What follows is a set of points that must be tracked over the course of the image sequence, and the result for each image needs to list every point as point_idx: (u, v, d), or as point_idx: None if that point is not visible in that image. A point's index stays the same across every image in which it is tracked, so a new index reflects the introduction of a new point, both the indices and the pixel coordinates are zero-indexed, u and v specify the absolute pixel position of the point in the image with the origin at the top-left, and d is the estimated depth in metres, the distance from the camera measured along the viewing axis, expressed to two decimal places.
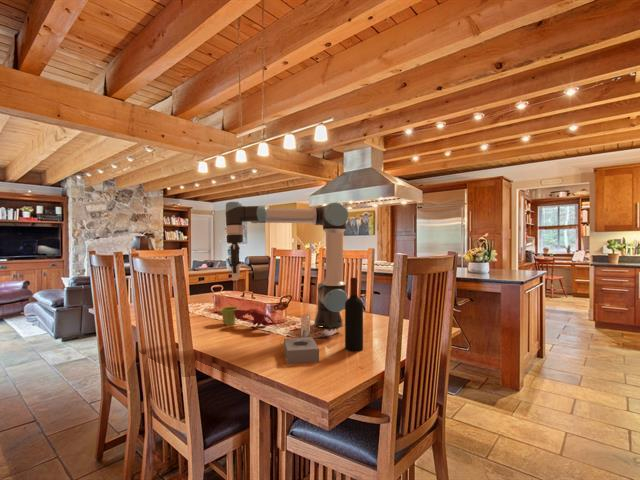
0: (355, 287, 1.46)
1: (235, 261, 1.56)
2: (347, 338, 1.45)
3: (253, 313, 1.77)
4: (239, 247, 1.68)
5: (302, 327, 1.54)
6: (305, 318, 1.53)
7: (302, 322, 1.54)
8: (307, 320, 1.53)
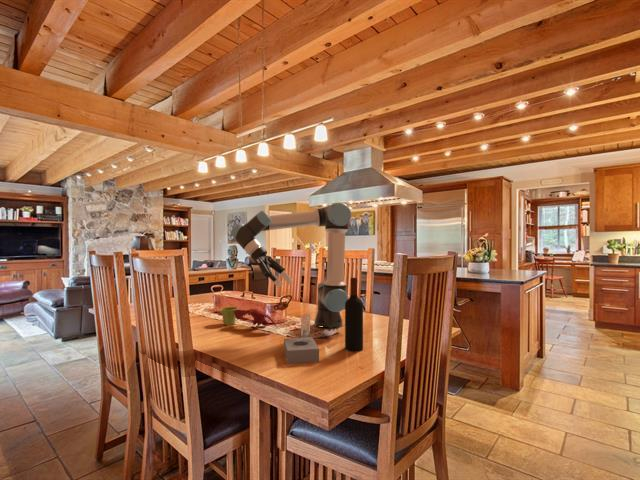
0: (355, 287, 1.46)
1: (266, 271, 1.53)
2: (347, 338, 1.45)
3: (253, 313, 1.77)
4: (269, 257, 1.65)
5: (302, 327, 1.54)
6: (305, 318, 1.53)
7: (302, 322, 1.54)
8: (307, 320, 1.53)
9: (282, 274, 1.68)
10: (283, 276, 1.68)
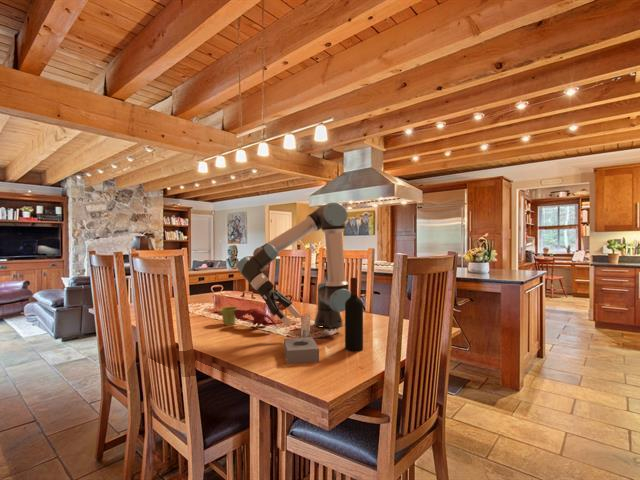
0: (355, 287, 1.46)
1: (273, 308, 1.48)
2: (347, 338, 1.45)
3: (253, 313, 1.77)
4: (276, 292, 1.60)
5: (302, 327, 1.54)
6: (305, 318, 1.53)
7: (302, 322, 1.54)
8: (307, 320, 1.53)
9: (289, 308, 1.63)
10: (290, 310, 1.63)
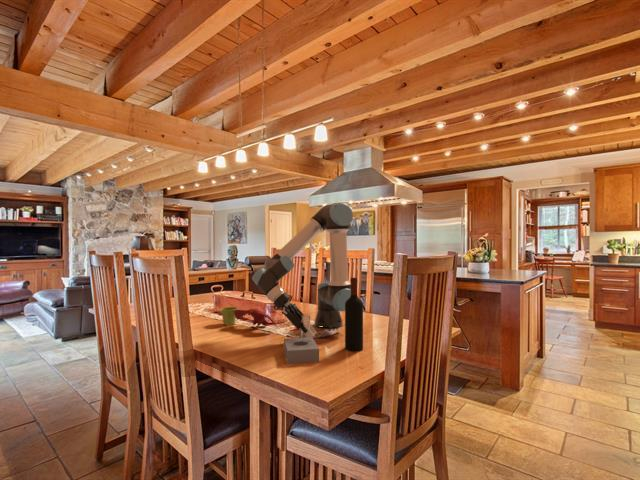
0: (355, 287, 1.46)
1: (297, 323, 1.50)
2: (347, 338, 1.45)
3: (253, 313, 1.77)
4: (292, 304, 1.59)
5: None
6: (305, 318, 1.53)
7: (302, 322, 1.54)
8: (307, 320, 1.53)
9: None
10: None
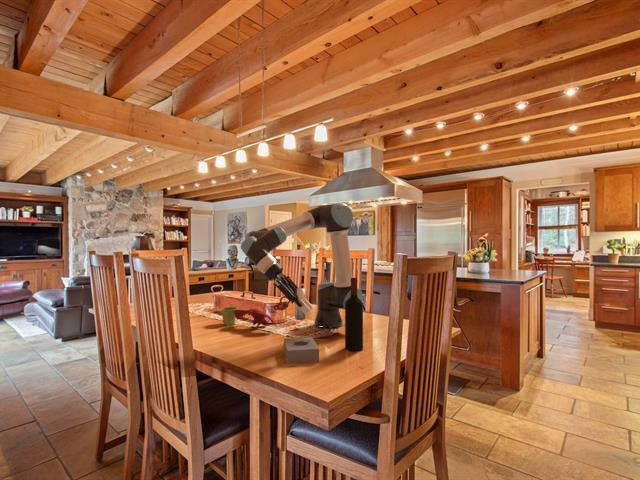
0: (355, 287, 1.46)
1: (291, 296, 1.33)
2: (347, 338, 1.45)
3: (253, 313, 1.77)
4: (286, 276, 1.41)
5: None
6: (300, 291, 1.36)
7: None
8: (302, 293, 1.36)
9: None
10: None
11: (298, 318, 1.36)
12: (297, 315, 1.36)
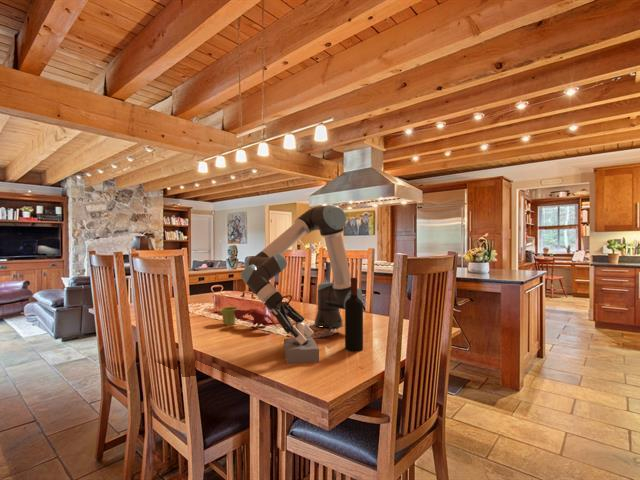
0: (355, 287, 1.46)
1: (287, 326, 1.30)
2: (347, 338, 1.45)
3: (253, 313, 1.77)
4: (286, 304, 1.41)
5: None
6: (300, 325, 1.36)
7: None
8: (302, 327, 1.36)
9: None
10: None
11: None
12: None
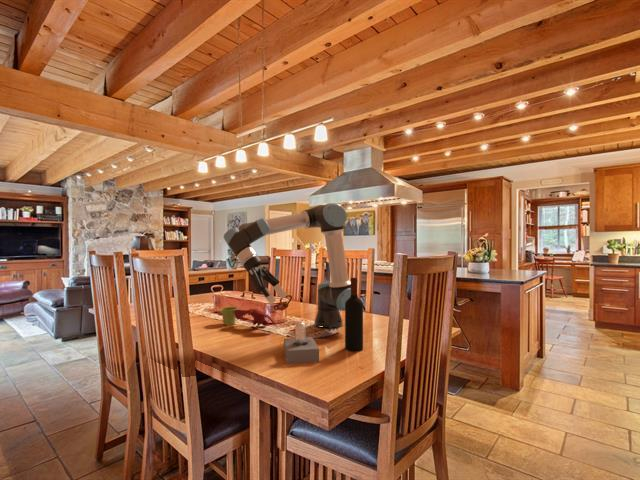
0: (355, 287, 1.46)
1: (259, 285, 1.37)
2: (347, 338, 1.45)
3: (253, 313, 1.77)
4: (263, 268, 1.49)
5: (296, 335, 1.37)
6: (300, 325, 1.36)
7: (296, 330, 1.37)
8: (302, 327, 1.36)
9: (276, 287, 1.52)
10: (276, 290, 1.52)
11: None
12: None
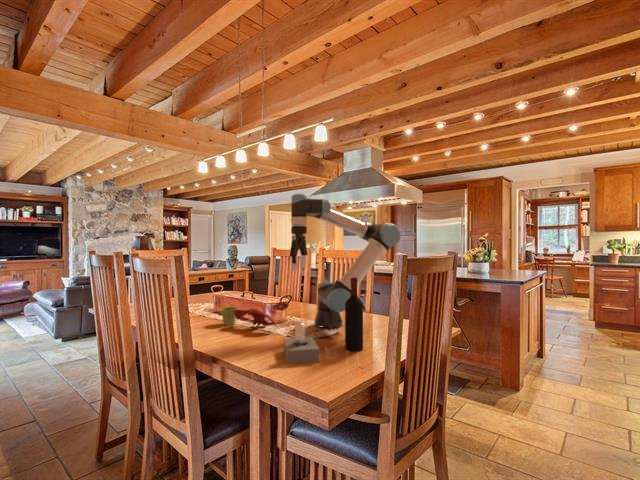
0: (355, 287, 1.46)
1: (293, 252, 1.60)
2: (347, 338, 1.45)
3: (253, 313, 1.77)
4: (304, 238, 1.71)
5: (296, 336, 1.36)
6: (299, 326, 1.36)
7: (296, 330, 1.36)
8: (302, 328, 1.36)
9: (302, 257, 1.76)
10: (301, 259, 1.76)
11: None
12: None
